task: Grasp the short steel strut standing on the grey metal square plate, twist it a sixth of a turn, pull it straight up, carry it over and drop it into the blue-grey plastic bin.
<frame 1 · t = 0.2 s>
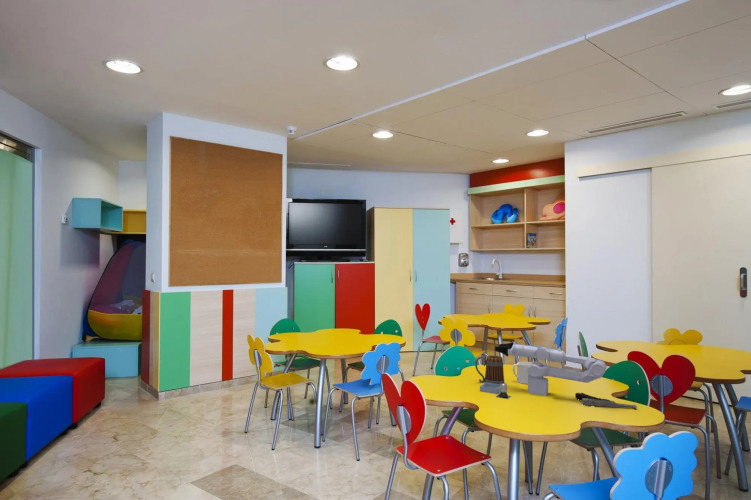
hand: (497, 347, 238), 21 cm above the table, tool horizontal, fingers open, 7 cm apart
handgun: (604, 404, 215), on the table
grey metal square plate: (503, 398, 219), on the table
bin: (491, 392, 229), on the table
mug: (489, 385, 245), on the table
strut: (503, 396, 219), point 1 cm above the table, touching grey metal square plate
mug 2: (524, 382, 252), on the table
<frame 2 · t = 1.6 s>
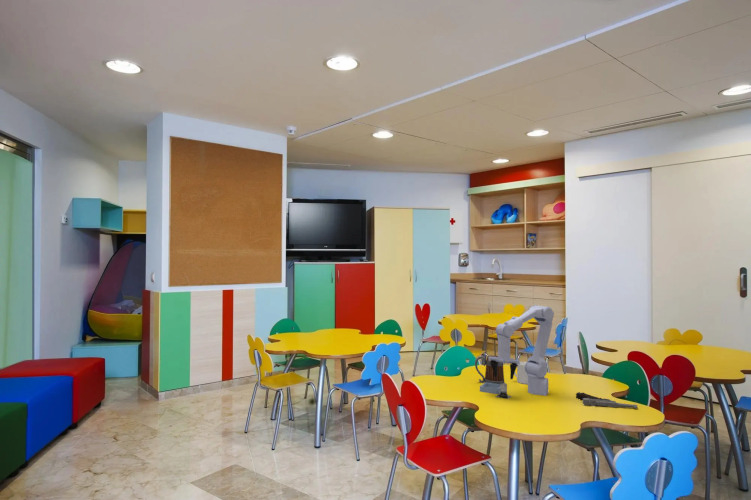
hand: (503, 377, 220), 10 cm above the table, tool pointing down, fingers open, 7 cm apart
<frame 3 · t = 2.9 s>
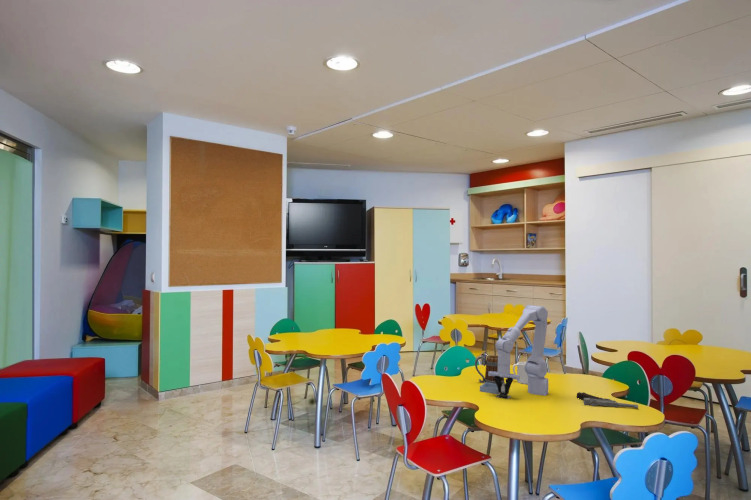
hand: (503, 392, 219), 3 cm above the table, tool pointing down, fingers closed on strut, 3 cm apart
strut: (503, 396, 219), point 1 cm above the table, touching gripper, grey metal square plate
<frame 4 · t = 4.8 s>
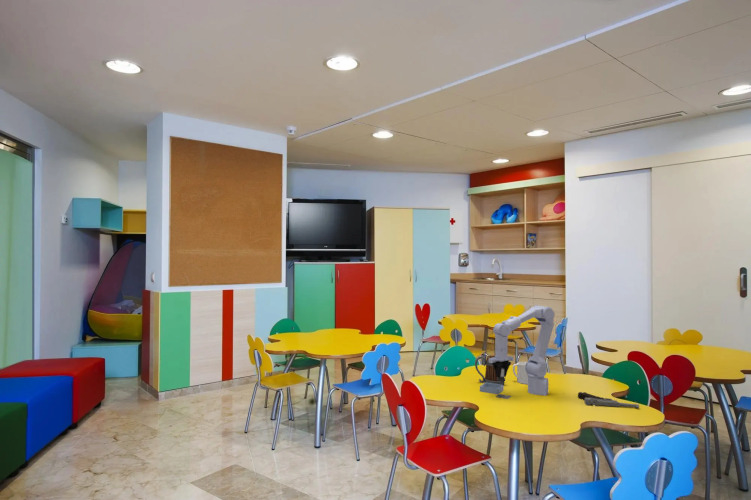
hand: (501, 376, 222), 10 cm above the table, tool pointing down, fingers closed on strut, 3 cm apart
strut: (501, 380, 222), point 8 cm above the table, touching gripper
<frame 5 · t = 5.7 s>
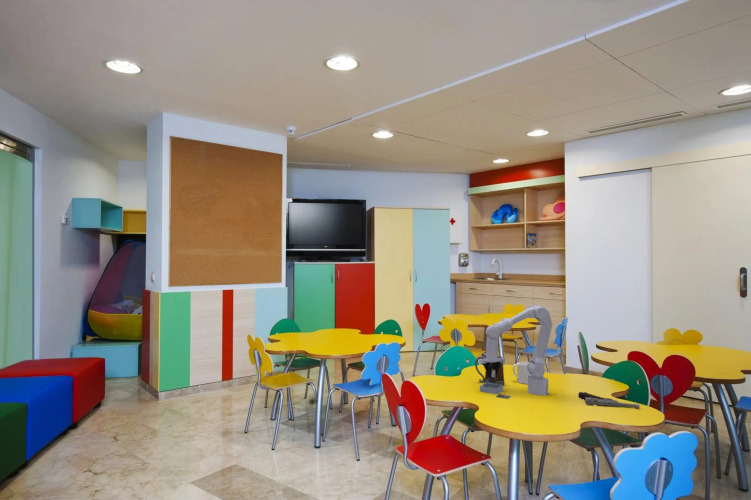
hand: (491, 377, 230), 8 cm above the table, tool pointing down, fingers closed on strut, 3 cm apart
strut: (492, 381, 229), point 6 cm above the table, touching gripper
when the fingers open (4 cm above the table, at t = 6.5 s): strut drops 2 cm, resting on bin.
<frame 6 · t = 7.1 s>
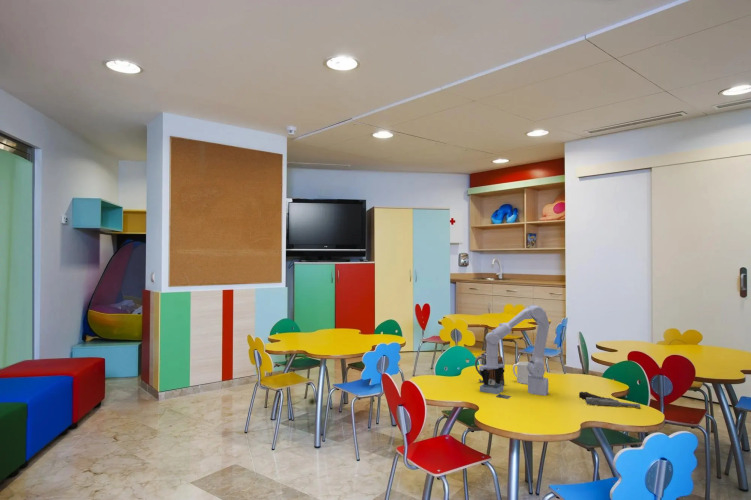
hand: (491, 383, 229), 4 cm above the table, tool pointing down, fingers open, 7 cm apart
strut: (492, 391, 229), point 1 cm above the table, touching bin
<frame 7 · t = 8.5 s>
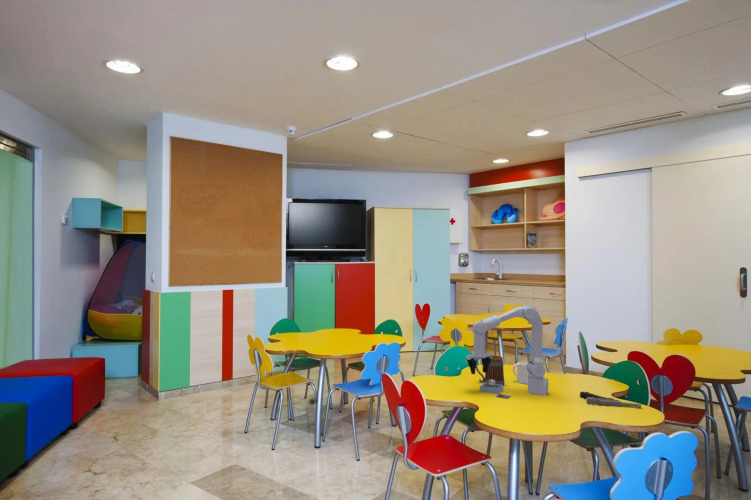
hand: (479, 373, 228), 10 cm above the table, tool pointing down, fingers open, 7 cm apart
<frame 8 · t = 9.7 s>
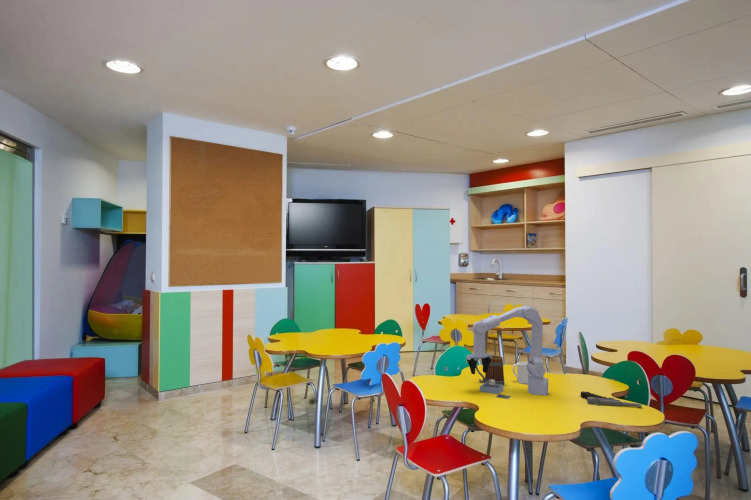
hand: (479, 373, 228), 10 cm above the table, tool pointing down, fingers open, 7 cm apart
at the end: strut inside the target area on the bin (0.2 cm from its centre), point 0.6 cm above the bin's base; the gripper is holding nothing; strut moved 10.4 cm from its start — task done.
